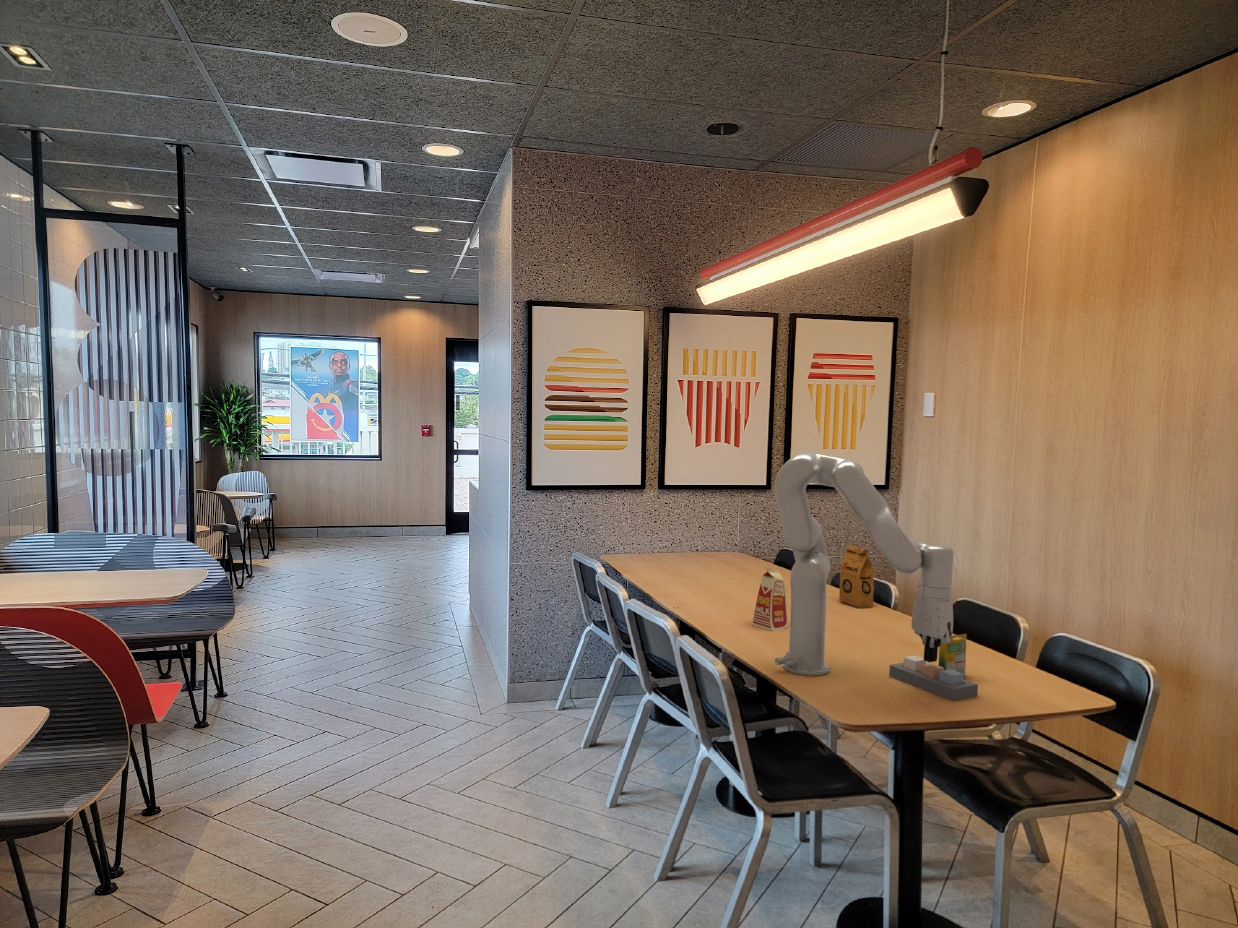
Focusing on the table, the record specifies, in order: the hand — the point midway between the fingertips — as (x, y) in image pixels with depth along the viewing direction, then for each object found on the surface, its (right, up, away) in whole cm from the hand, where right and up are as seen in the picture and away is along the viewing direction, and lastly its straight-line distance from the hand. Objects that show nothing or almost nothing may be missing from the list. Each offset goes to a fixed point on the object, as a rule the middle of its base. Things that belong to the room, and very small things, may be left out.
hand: (930, 660), depth 208 cm
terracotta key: (0, -6, 0) cm, 5 cm away
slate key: (+3, -6, -5) cm, 8 cm away
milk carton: (-31, -3, +57) cm, 65 cm away
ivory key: (-2, -5, +5) cm, 7 cm away
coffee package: (+8, -2, +91) cm, 91 cm away
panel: (+1, -7, 0) cm, 7 cm away
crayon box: (+9, -7, +9) cm, 15 cm away
